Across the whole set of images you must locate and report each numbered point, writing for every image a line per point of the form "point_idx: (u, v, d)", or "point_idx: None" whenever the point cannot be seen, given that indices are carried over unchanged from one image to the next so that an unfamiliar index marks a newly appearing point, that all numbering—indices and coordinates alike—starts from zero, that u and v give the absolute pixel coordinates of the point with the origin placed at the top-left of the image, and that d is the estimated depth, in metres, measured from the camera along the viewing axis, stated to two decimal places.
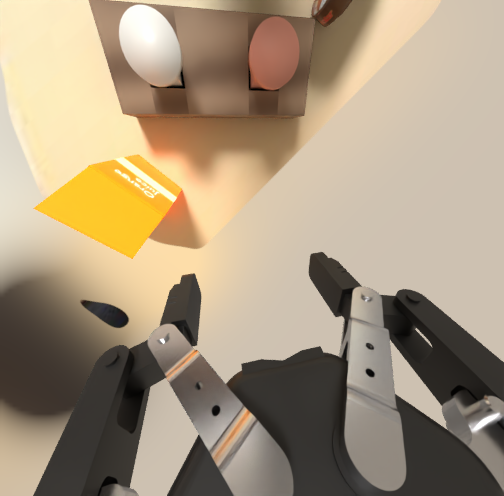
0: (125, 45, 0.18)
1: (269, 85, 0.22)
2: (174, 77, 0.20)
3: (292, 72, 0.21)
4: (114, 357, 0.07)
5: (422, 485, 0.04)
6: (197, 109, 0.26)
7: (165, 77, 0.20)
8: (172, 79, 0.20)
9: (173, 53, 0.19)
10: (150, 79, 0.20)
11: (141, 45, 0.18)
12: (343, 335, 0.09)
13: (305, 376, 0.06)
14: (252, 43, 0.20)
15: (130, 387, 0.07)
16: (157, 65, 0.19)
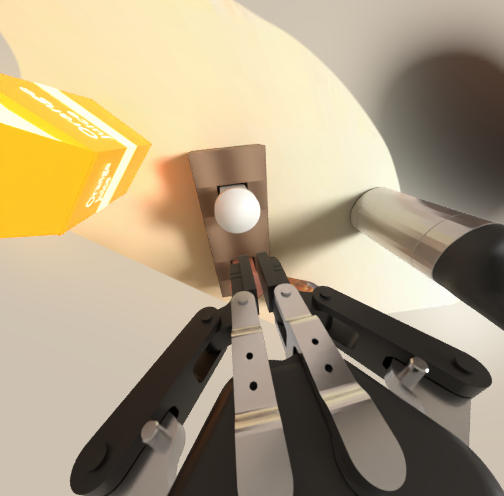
0: (235, 193, 0.21)
1: (231, 289, 0.29)
2: None
3: None
4: (208, 315, 0.08)
5: (423, 486, 0.04)
6: (209, 225, 0.28)
7: (220, 221, 0.23)
8: None
9: (237, 228, 0.23)
10: (216, 209, 0.22)
11: (237, 205, 0.22)
12: (282, 337, 0.09)
13: (305, 376, 0.06)
14: None
15: (211, 345, 0.09)
16: (227, 216, 0.22)
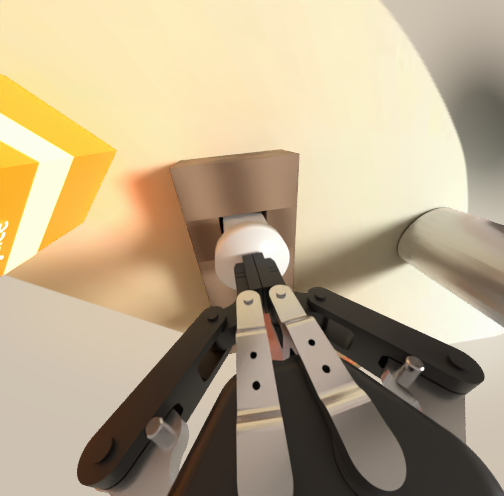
0: (250, 236, 0.12)
1: None
2: None
3: None
4: (214, 314, 0.08)
5: (422, 485, 0.04)
6: (206, 271, 0.19)
7: (225, 277, 0.14)
8: None
9: None
10: (218, 261, 0.13)
11: None
12: (278, 338, 0.09)
13: (305, 376, 0.06)
14: (270, 350, 0.18)
15: (216, 344, 0.09)
16: None
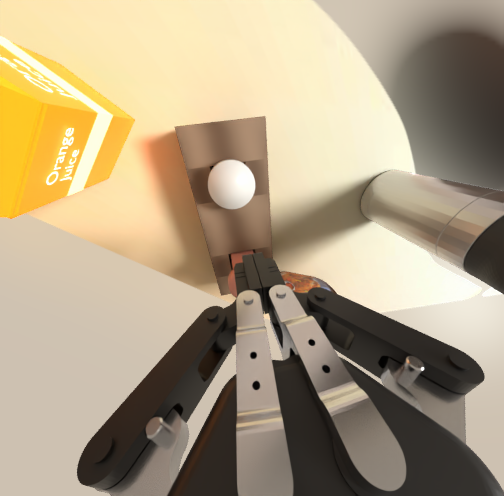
0: (229, 164, 0.20)
1: (229, 285, 0.25)
2: (217, 202, 0.23)
3: None
4: (214, 314, 0.08)
5: (423, 486, 0.04)
6: (203, 213, 0.25)
7: (214, 196, 0.22)
8: None
9: (232, 204, 0.23)
10: (209, 182, 0.21)
11: (231, 178, 0.21)
12: (278, 338, 0.09)
13: (305, 376, 0.06)
14: None
15: (216, 344, 0.09)
16: (221, 190, 0.22)
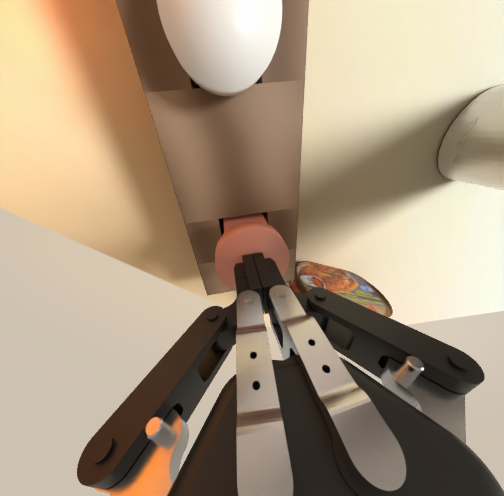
0: None
1: (216, 264, 0.13)
2: (186, 69, 0.09)
3: None
4: (214, 314, 0.08)
5: (422, 485, 0.04)
6: (162, 117, 0.12)
7: (177, 41, 0.09)
8: (180, 62, 0.09)
9: (222, 74, 0.09)
10: None
11: None
12: (278, 338, 0.09)
13: (305, 376, 0.06)
14: (261, 231, 0.12)
15: (216, 345, 0.09)
16: (194, 22, 0.08)
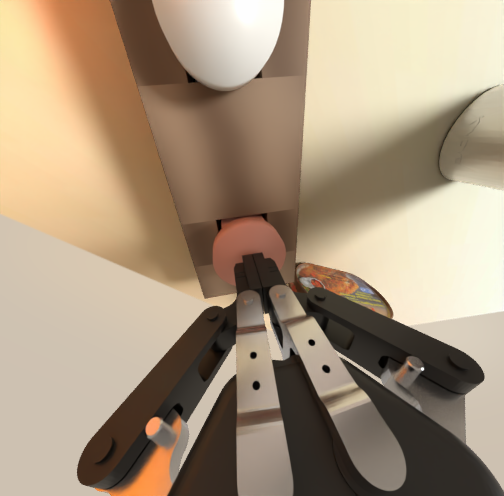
0: None
1: (214, 259, 0.13)
2: (181, 61, 0.09)
3: (235, 283, 0.15)
4: (214, 314, 0.08)
5: (423, 486, 0.04)
6: (156, 113, 0.11)
7: (172, 30, 0.08)
8: (175, 53, 0.09)
9: (220, 66, 0.09)
10: None
11: None
12: (278, 338, 0.09)
13: (305, 376, 0.06)
14: (257, 227, 0.13)
15: (216, 345, 0.09)
16: (190, 9, 0.08)
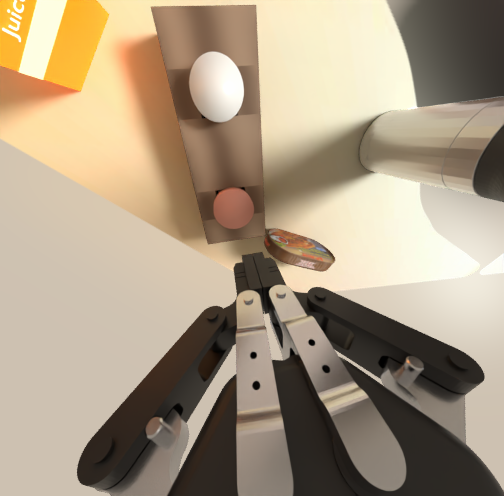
0: (213, 57, 0.18)
1: (214, 209, 0.25)
2: (200, 112, 0.20)
3: (226, 226, 0.26)
4: (214, 314, 0.08)
5: (422, 485, 0.04)
6: (186, 132, 0.22)
7: (197, 101, 0.19)
8: (198, 109, 0.20)
9: (217, 114, 0.20)
10: (191, 81, 0.18)
11: (216, 78, 0.19)
12: (278, 338, 0.09)
13: (305, 376, 0.06)
14: (237, 191, 0.24)
15: (216, 344, 0.09)
16: (205, 93, 0.19)
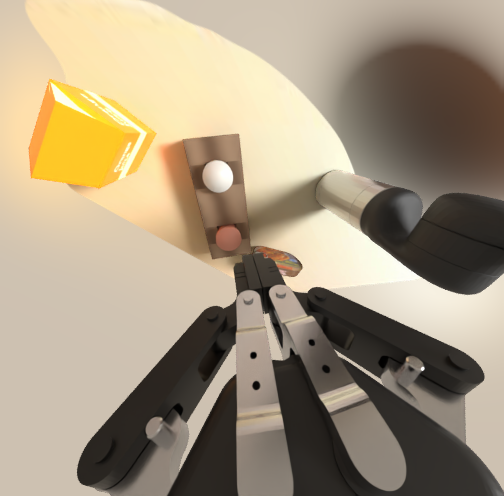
0: (215, 163, 0.33)
1: (216, 239, 0.40)
2: (208, 188, 0.35)
3: (224, 249, 0.41)
4: (214, 314, 0.08)
5: (422, 485, 0.04)
6: (199, 195, 0.37)
7: (206, 183, 0.34)
8: (207, 187, 0.35)
9: (218, 189, 0.35)
10: (203, 174, 0.33)
11: (217, 172, 0.34)
12: (278, 338, 0.09)
13: (305, 376, 0.06)
14: (230, 229, 0.39)
15: (216, 345, 0.09)
16: (211, 179, 0.34)
